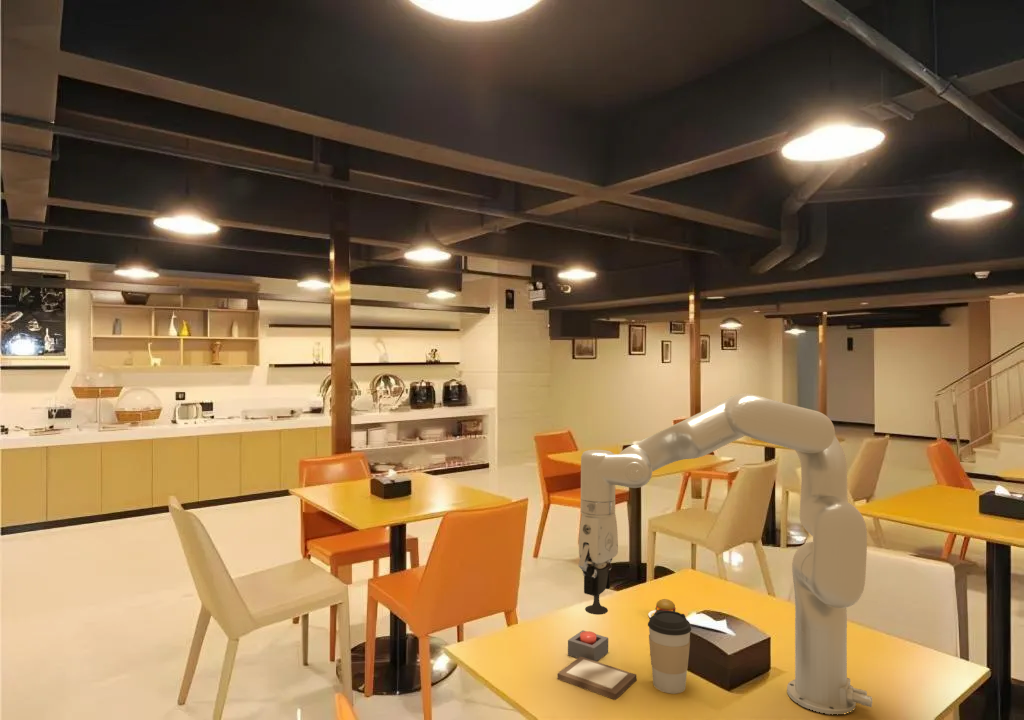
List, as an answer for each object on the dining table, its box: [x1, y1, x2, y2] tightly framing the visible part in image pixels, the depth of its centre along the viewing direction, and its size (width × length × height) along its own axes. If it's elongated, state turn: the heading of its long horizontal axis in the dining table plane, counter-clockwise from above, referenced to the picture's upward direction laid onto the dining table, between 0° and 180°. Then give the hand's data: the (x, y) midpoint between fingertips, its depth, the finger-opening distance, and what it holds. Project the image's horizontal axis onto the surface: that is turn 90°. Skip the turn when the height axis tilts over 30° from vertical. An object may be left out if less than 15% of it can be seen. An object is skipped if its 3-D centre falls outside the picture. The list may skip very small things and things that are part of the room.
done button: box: [580, 630, 597, 645], centre depth 145 cm, size 4×4×2 cm
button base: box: [567, 629, 609, 662], centre depth 145 cm, size 7×7×4 cm
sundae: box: [584, 558, 613, 616], centre depth 133 cm, size 7×7×15 cm
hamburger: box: [647, 598, 677, 619], centre depth 166 cm, size 12×12×6 cm
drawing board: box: [556, 656, 638, 701], centre depth 132 cm, size 14×10×1 cm
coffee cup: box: [647, 610, 692, 695], centre depth 131 cm, size 9×9×15 cm
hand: (597, 590), depth 133 cm, fingers closed on sundae, 4 cm apart
